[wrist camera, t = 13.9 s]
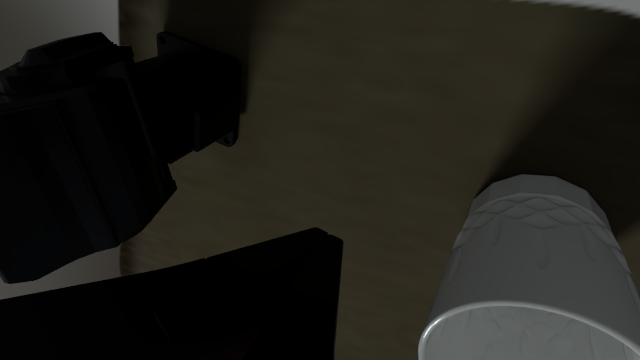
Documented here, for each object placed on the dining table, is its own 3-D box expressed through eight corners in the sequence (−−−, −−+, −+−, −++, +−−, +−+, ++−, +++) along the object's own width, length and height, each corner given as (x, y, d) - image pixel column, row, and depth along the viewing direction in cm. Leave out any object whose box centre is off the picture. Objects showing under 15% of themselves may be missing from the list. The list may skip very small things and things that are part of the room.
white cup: (638, 167, 18) (720, 340, 10) (605, 294, 21) (646, 495, 13) (457, 158, 21) (414, 280, 13) (456, 268, 25) (420, 414, 17)
